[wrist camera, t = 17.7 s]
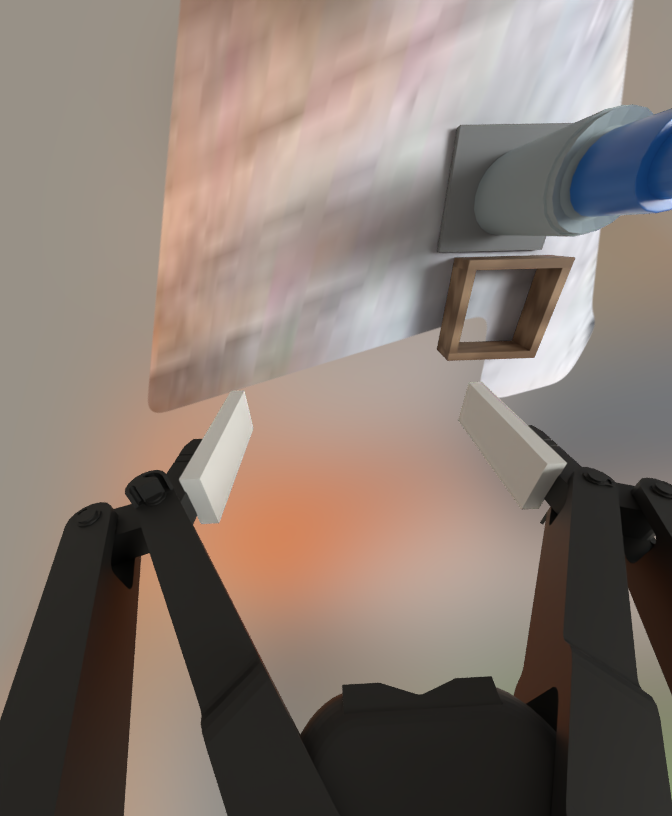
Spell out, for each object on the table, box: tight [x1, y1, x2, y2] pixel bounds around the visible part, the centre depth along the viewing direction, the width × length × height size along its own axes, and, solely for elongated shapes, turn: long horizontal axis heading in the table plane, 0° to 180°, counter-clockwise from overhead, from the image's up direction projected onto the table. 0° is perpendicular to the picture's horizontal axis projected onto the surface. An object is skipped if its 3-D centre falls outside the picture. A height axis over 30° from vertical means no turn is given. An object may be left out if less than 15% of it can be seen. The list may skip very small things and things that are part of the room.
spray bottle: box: [474, 105, 672, 236], centre depth 25 cm, size 9×9×25 cm
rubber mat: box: [437, 123, 573, 252], centre depth 36 cm, size 13×15×1 cm
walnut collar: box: [437, 255, 575, 361], centre depth 42 cm, size 14×14×5 cm
